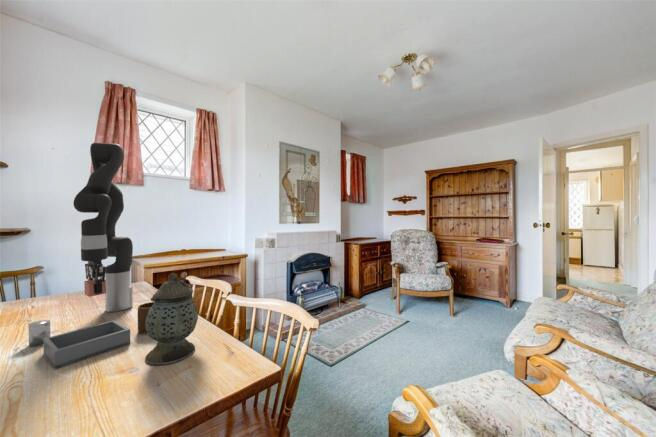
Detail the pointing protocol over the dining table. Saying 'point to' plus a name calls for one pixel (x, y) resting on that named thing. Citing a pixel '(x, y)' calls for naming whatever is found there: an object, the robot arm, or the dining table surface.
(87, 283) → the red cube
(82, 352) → the tote
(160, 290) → the lantern
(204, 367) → the dining table surface
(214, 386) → the dining table surface
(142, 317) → the mug
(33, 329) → the steel cylinder
